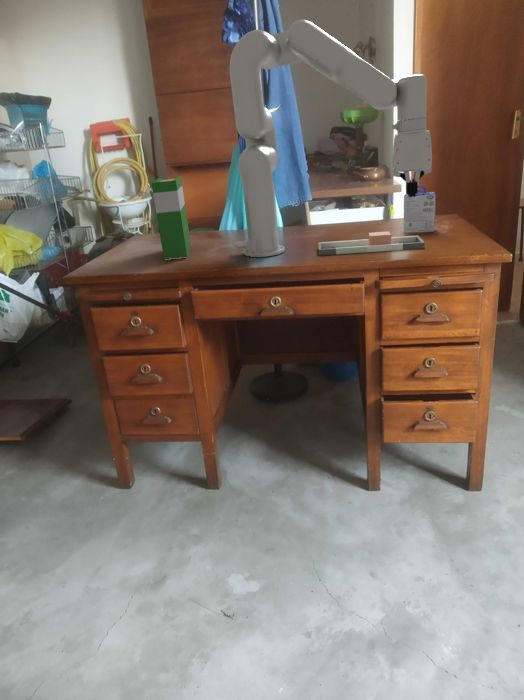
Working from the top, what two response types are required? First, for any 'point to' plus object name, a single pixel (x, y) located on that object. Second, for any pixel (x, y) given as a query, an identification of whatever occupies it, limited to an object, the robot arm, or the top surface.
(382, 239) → the terracotta block
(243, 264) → the top surface
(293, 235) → the top surface
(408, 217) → the ink cartridge box
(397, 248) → the track
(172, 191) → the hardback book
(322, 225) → the top surface
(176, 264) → the top surface
